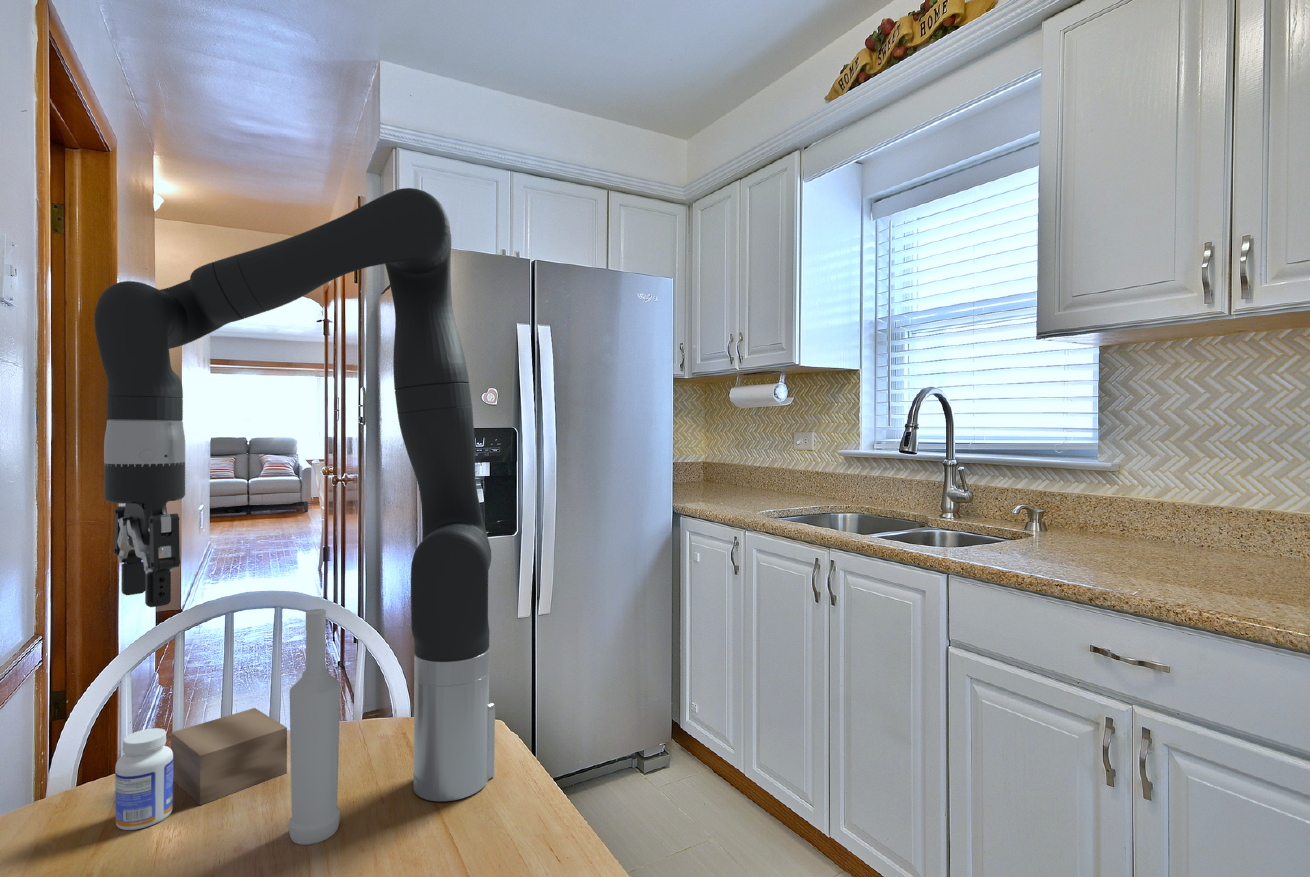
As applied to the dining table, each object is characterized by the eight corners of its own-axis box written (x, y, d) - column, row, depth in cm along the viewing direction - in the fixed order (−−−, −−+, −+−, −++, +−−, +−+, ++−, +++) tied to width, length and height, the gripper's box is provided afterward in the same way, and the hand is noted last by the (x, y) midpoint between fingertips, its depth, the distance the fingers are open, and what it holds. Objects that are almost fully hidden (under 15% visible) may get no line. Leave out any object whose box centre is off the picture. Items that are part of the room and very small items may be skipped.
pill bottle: (152, 801, 82) (153, 721, 82) (184, 810, 81) (184, 729, 80) (103, 825, 77) (103, 741, 77) (135, 836, 75) (135, 749, 75)
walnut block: (254, 750, 96) (254, 707, 96) (286, 772, 90) (287, 727, 89) (171, 778, 88) (171, 732, 88) (200, 805, 82) (200, 755, 82)
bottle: (319, 848, 74) (320, 619, 73) (277, 842, 75) (278, 615, 74) (349, 821, 79) (351, 606, 78) (310, 816, 80) (311, 604, 79)
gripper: (206, 461, 77) (205, 603, 77) (163, 456, 86) (162, 584, 86) (125, 463, 71) (124, 617, 71) (87, 458, 80) (87, 595, 80)
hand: (145, 599), depth 79 cm, fingers open, 8 cm apart
